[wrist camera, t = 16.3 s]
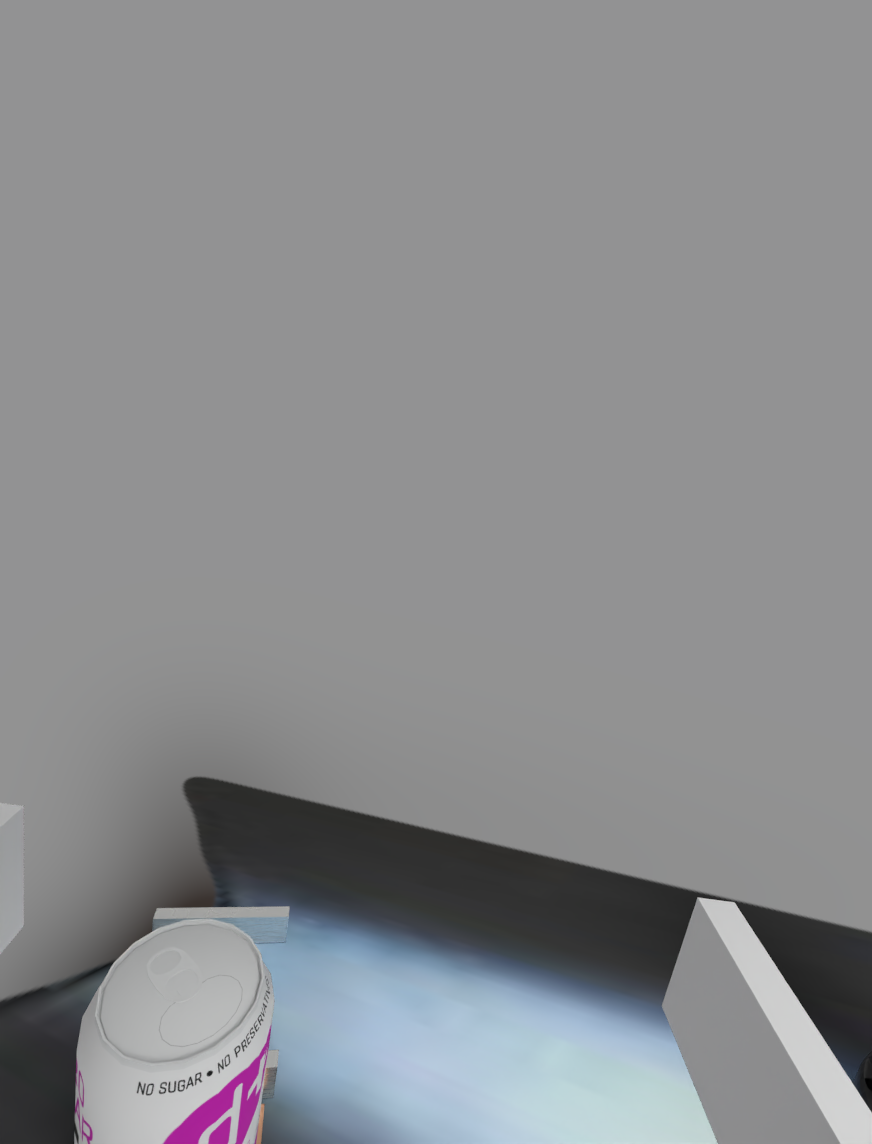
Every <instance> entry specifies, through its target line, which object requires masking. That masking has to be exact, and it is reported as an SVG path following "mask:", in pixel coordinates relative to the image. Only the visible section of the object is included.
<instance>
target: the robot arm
mask: <svg viewBox="0 0 872 1144" xmlns="http://www.w3.org/2000/svg"><path fill="white" fill-rule="evenodd" d="M23 926H24V806H20V805H13V804H5V803H0V954H1V953H2V952H3V951H4V949H5V948H6V947H7V946H8V944H9V943H10V942H11V941H12V940H13V938H14V937H15V936H16V935H17V934H18V932H19V931H20V930H21V929H22V927H23ZM662 1007H663V1010H664V1012H665V1015H666V1017H667V1020H668V1022H669V1025H670V1027H671V1030H672V1032H673V1034H674V1037H675V1039H676V1042H677V1044H678V1047H679V1049H680V1052H681V1054H682V1057H683V1059H684V1061H685V1064H686V1066H687V1069H688V1071H689V1074H690V1076H691V1079H692V1081H693V1084H694V1086H695V1088H696V1091H697V1093H698V1096H699V1098H700V1101H701V1103H702V1106H703V1108H704V1111H705V1113H706V1115H707V1118H708V1120H709V1123H710V1125H711V1128H712V1130H713V1133H714V1135H715V1138H716V1140H717V1142H718V1144H872V1052H871V1053H870V1054H869V1055H868V1056H867V1057H866V1058H865V1059H864V1061H863V1062H862V1064H861V1066H860V1068H859V1070H858V1072H857V1074H856V1077H855V1079H854V1081H853V1083H852V1082H851V1080H850V1079H849V1077H848V1076H847V1074H846V1073H845V1071H844V1069H843V1068H842V1066H841V1065H840V1063H839V1062H838V1060H837V1059H836V1057H835V1056H834V1054H833V1053H832V1051H831V1050H830V1048H829V1046H828V1045H827V1043H826V1042H825V1040H824V1039H823V1037H822V1036H821V1034H820V1033H819V1031H818V1030H817V1028H816V1027H815V1025H814V1023H813V1022H812V1020H811V1019H810V1017H809V1016H808V1014H807V1013H806V1011H805V1010H804V1008H803V1007H802V1005H801V1004H800V1002H799V1001H798V999H797V997H796V996H795V994H794V993H793V991H792V990H791V988H790V987H789V985H788V984H787V982H786V981H785V979H784V978H783V976H782V974H781V973H780V971H779V970H778V968H777V967H776V965H775V964H774V962H773V961H772V959H771V958H770V956H769V955H768V953H767V952H766V950H765V948H764V947H763V945H762V944H761V942H760V941H759V939H758V938H757V936H756V935H755V933H754V932H753V930H752V929H751V927H750V925H749V924H748V922H747V921H746V919H745V918H744V916H743V915H742V913H741V912H740V910H739V909H738V907H737V906H736V904H735V903H734V902H727V901H720V900H712V899H705V898H697V901H696V904H695V907H694V910H693V913H692V916H691V919H690V922H689V925H688V928H687V931H686V934H685V937H684V940H683V943H682V946H681V949H680V952H679V955H678V959H677V962H676V965H675V968H674V971H673V974H672V977H671V980H670V983H669V986H668V989H667V992H666V995H665V998H664V1001H663V1004H662Z"/></svg>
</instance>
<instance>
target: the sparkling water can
mask: <svg viewBox="0 0 872 1144" xmlns="http://www.w3.org/2000/svg"><path fill="white" fill-rule="evenodd" d="M274 1001H275V1000H274V993H273V986H272V979H271V974H270V972H269V970H268V969H267V967H266V966H265V964H264V962H263V961H262V957H261V953H260V952H259V950H258V948H257V947H256V945H255V943H254V942H253V940H252V939H251V937H250V936H249V935H247V934H246V933H244V932H243V931H242V930H240V929H239V928H237V927H236V926H234V925H233V924H229V923H225V922H221V921H217V920H213V919H193V920H183V921H180V922H176V923H173V924H170V925H167V926H164V927H160V928H158V929H156V930H154V931H153V932H151V933H149V934H148V935H146V936H145V937H143V938H141V939H139V940H138V941H136V942H134V943H133V944H132V945H131V946H130V947H129V948H128V949H127V950H126V951H125V952H124V953H123V954H122V955H121V956H120V957H119V958H118V959H117V960H116V961H115V962H114V963H113V965H112V966H111V968H110V970H109V972H108V974H107V975H106V977H105V979H104V981H103V982H102V984H101V985H100V986H99V988H98V990H97V991H96V993H95V995H94V997H93V999H92V1001H91V1002H90V1004H89V1006H88V1008H87V1010H86V1011H85V1013H84V1015H83V1017H82V1022H81V1028H80V1034H79V1040H78V1046H77V1060H76V1095H75V1131H74V1144H256V1140H257V1132H258V1125H259V1117H260V1109H261V1102H262V1094H263V1086H264V1078H265V1071H266V1063H267V1055H268V1048H269V1040H270V1032H271V1024H272V1017H273V1009H274Z"/></svg>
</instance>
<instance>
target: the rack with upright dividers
mask: <svg viewBox="0 0 872 1144" xmlns="http://www.w3.org/2000/svg"><path fill="white" fill-rule="evenodd" d="M288 918H289V907H208V908H157V910H156V912H155V916H154V918H153V930H152V932H153V931H154V930H156V929H158V928H160V927H164V926H167V925H170V924H173V923H176V922H180V921H183V920H193V919H213V920H217V921H221V922H225V923H229V924H233V925H234V926H236V927H237V928H239V929H240V930H242V931H243V932H244V933H246V934H247V935H249V936H250V937H251V939H252V940H253V942H254V943H275V942H285V941H286V934H287V926H288ZM278 1051H279V1050H268V1055H267V1063H266V1071H265V1078H264V1086H263V1094H262V1098H273V1095H274V1088H275V1080H276V1073H277V1065H278ZM263 1115H264V1104H261V1109H260V1117H259V1125H258V1132H257V1140H256V1144H261V1137H262V1126H263Z"/></svg>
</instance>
